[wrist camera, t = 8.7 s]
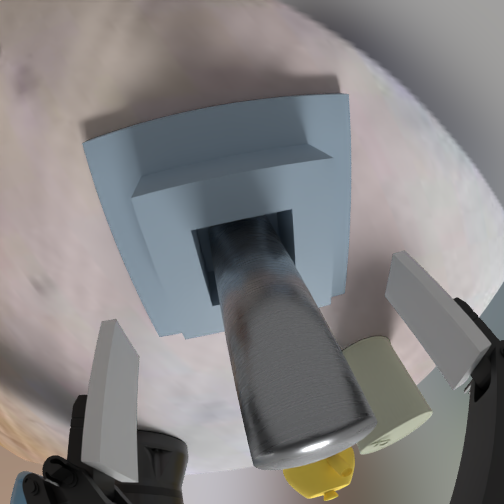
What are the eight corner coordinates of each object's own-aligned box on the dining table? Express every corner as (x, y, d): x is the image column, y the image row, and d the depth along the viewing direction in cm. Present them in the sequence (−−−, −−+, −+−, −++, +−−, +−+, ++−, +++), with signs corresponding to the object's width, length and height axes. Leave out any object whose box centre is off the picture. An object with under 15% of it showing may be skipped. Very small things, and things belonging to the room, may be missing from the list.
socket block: (160, 328, 23) (159, 370, 19) (87, 140, 14) (58, 158, 11) (339, 286, 25) (363, 320, 21) (341, 93, 16) (381, 99, 12)
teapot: (293, 434, 43) (315, 500, 32) (366, 416, 47) (391, 471, 36) (272, 464, 54) (286, 513, 42) (332, 450, 57) (349, 494, 46)
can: (341, 340, 29) (389, 432, 20) (401, 331, 32) (449, 404, 22) (315, 386, 34) (347, 465, 24) (371, 375, 36) (406, 441, 26)
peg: (215, 263, 20) (260, 476, 8) (202, 209, 17) (243, 448, 6) (272, 250, 20) (364, 444, 8) (266, 196, 18) (391, 400, 6)
